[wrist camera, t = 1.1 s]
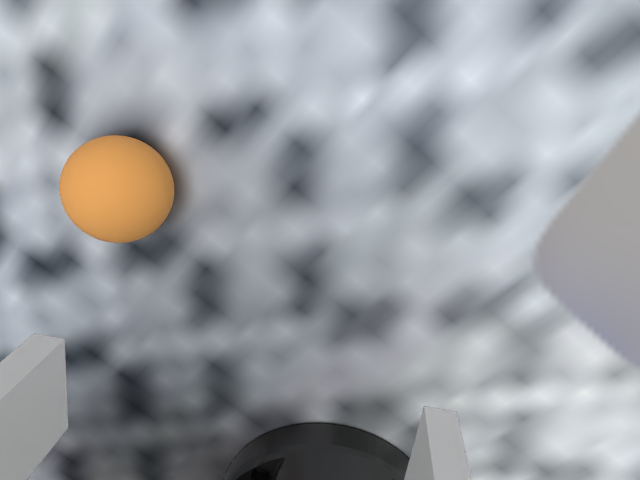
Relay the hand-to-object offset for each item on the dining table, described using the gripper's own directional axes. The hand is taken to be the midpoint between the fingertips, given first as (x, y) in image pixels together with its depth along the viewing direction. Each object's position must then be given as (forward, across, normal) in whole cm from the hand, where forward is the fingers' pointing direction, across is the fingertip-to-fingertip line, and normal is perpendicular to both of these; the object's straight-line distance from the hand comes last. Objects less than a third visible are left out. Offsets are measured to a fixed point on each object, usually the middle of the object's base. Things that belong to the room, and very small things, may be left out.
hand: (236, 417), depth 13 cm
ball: (+15, +10, 0) cm, 18 cm away
